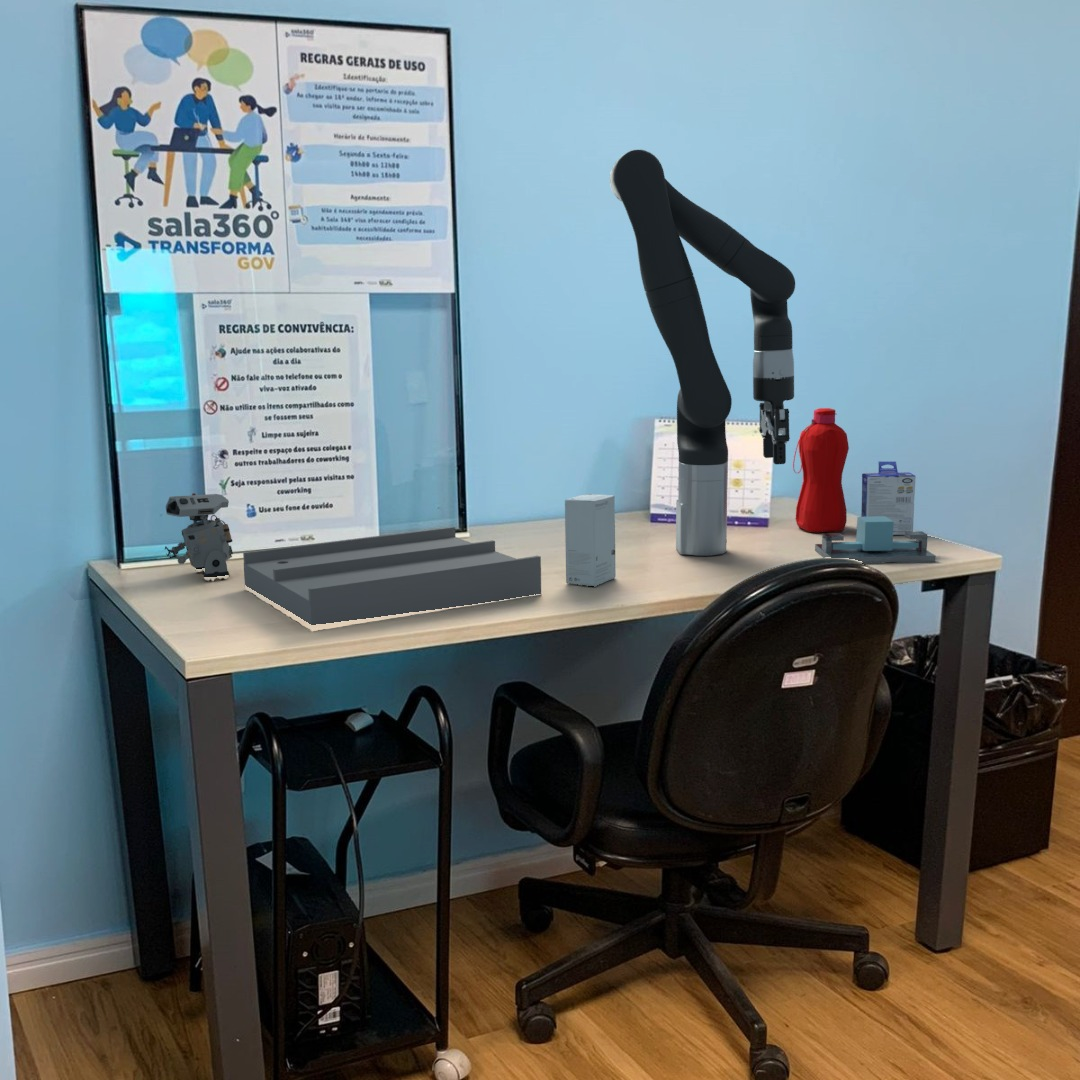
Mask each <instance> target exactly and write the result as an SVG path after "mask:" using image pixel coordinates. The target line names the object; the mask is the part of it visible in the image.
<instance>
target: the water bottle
mask: <svg viewBox="0 0 1080 1080" xmlns="http://www.w3.org/2000/svg"><path fill="white" fill-rule="evenodd" d="M810 422H811V424H809V425H808V426H806V427H805V428H804V429H803V430H802V431H801V433H800V435H799V439H798V441H797V445H796V448H795V451H794V456H793V461H792V468H793V469H792V470H793V472H794V473H795V474H800V473H801V472H802V483H801V484H802V485H801V488H800V492H799V496H798V499H797V503H796V508H795V522H796V525H797V527H798V528H800V529H802V530H804V531H806V532H808V533H816V534H817V533H818V534H820V533H821V534H822V533H840V532H841V531H843V530H844V529H845V527H846V525H847V518H848V517H847V514H848V513H847V506H846V499H845V494H844V490H843V484H842V483H843V480H842V479H843V472H844V468H845V464H846V461H847V456H848V453H849V449H850V447H849V440H848V435H847V433H846V432H845V430H844V429H843V428H842V427H841V426H840V425H838V424H836V409H833V408H830V407H825V408H824V407H821V408H820V407H819V408H817V409H814V410H813V419H811V421H810ZM797 450H798V453H799V458H800V464H801V465H800V470H799V471H798V472H796V471H795V458H796V454H797Z"/></svg>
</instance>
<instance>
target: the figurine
mask: <svg viewBox="0 0 1080 1080" xmlns="http://www.w3.org/2000/svg"><path fill="white" fill-rule="evenodd" d="M228 507H229V499H228V498H226V497H225V496H224V495H222V494H217V493H211V494H210V493H209V494H207V493H206V494H196V493H194V492H193V493H192V494H191V495H177V496H169V497H168V499H167V503H166V505H165V511H166V515H168V516H171V517H178V518H182V517H184V518H185V517H188V518H189V520H190V521H193V523H190V524H189V525H187V527H185V528H183V529H182V530H181V536H182V537H183V540H184V541H183V542H178V544H177V546H172V547H171V549H169V547H167V546H165V548H164V550H167V552H168V553H166V556H167V557H169V559H174V558H175V559H177V563H178V564H179V565H183V564H185V563H186V562H187V560H189V563H190V565H191V567H193V568H194V569H195V568H196V569H202V568H205V572H203V577H217V576H225V575H229V576H230V574H229V571H228V564H227V561H228V560H229V559H231V558H233V556H232V555H233V554H234V551H233V548H232V545H229V543H233V538H232V535H231V531H230V527H229V524H228V523H226V522H225V521H224V520H221V519H220V517H218V516H217V515H215V514H216V513H217V512H218V511H219V510H221V508H228ZM210 515H211V516H210ZM209 516H210V519H209ZM213 517H215V518H214V519H213ZM185 548H186V552H185V554H183V555H182V556H179V555H178V554H179V552H180V551H182V550H184V549H185ZM171 554H172V556H171Z"/></svg>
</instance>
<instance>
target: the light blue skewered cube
mask: <svg viewBox="0 0 1080 1080" xmlns="http://www.w3.org/2000/svg"><path fill="white" fill-rule="evenodd" d="M856 518H857V520H856V541H832V549H833V550H842V549H862V550H864V551H885V550H892V548H918V546H919V543H918V542H917V541H916V540H894V535H893V525H894V521H892V520H890V519H889V518H887V517H885V516H876V517H861V516H856Z"/></svg>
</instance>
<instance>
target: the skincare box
mask: <svg viewBox="0 0 1080 1080" xmlns="http://www.w3.org/2000/svg"><path fill="white" fill-rule="evenodd" d="M615 497H616V496H615V495H613V494H612V495H611V494H592V493H589V494H588V493H586V494H582V495H576V496H573V497H570V498H567V499H566V498H565V500H564V519H565V521H564V525H565V531H564V532H565V534H564V535H565V539H564V540H565V541H564V542H565V583H566V584H568V583H571V584H570V585H577V584H578V586H582V585H587V586H586V587H588V586H594V587H593V588H596V587H598V586H600V585H601V584H604V583H606V582H608V581H610V580H613V579H616V520H615V519H616V518H615V516H616V515H615V511H616V510H615V506H616V505H615V501H616V500H615ZM599 584H600V585H599ZM597 585H598V586H597Z"/></svg>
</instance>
